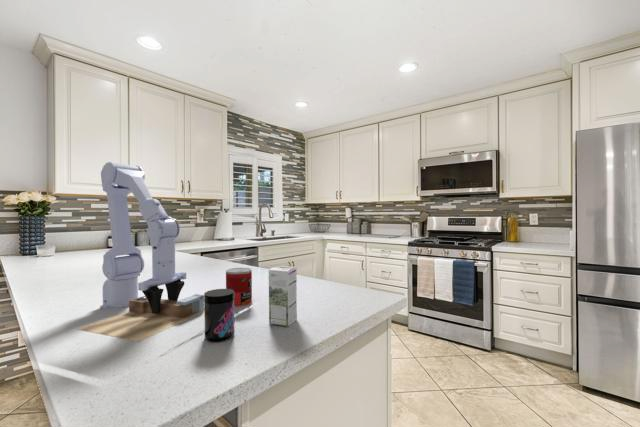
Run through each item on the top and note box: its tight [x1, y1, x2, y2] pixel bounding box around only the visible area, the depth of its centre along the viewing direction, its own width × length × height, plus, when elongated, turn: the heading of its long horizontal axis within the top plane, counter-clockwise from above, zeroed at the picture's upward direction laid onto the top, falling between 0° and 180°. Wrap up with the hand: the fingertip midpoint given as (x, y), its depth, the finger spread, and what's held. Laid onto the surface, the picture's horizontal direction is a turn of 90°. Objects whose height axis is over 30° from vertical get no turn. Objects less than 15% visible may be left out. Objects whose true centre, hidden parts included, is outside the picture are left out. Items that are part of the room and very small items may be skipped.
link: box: [128, 295, 192, 318], centre depth 85 cm, size 19×5×3 cm, turn 70°
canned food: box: [225, 267, 253, 307], centre depth 94 cm, size 8×8×11 cm
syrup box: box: [268, 265, 298, 328], centre depth 79 cm, size 6×6×14 cm
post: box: [138, 295, 147, 301], centre depth 87 cm, size 2×2×4 cm
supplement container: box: [203, 288, 235, 343], centre depth 70 cm, size 7×7×10 cm
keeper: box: [177, 293, 204, 313], centre depth 83 cm, size 3×7×4 cm, turn 160°
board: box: [76, 310, 204, 342], centre depth 80 cm, size 21×23×1 cm
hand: (164, 309), depth 85 cm, fingers open, 5 cm apart
